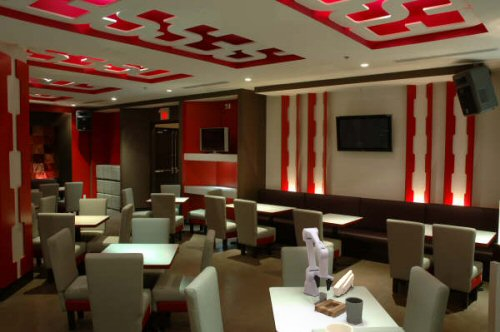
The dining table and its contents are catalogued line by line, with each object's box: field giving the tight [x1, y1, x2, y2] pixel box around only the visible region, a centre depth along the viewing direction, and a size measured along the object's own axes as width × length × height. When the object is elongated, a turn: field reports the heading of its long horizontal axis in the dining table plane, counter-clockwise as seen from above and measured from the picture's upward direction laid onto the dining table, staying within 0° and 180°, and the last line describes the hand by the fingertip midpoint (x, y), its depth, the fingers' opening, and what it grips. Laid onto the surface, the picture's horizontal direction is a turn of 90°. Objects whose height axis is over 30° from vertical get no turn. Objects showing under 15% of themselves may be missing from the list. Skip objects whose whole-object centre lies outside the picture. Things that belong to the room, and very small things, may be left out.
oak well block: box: [314, 298, 346, 318], centre depth 251 cm, size 14×16×3 cm
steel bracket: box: [314, 291, 328, 306], centre depth 260 cm, size 4×8×6 cm, turn 135°
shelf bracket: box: [333, 269, 355, 297], centre depth 281 cm, size 6×25×13 cm, turn 143°
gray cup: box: [344, 296, 364, 325], centre depth 237 cm, size 10×10×12 cm
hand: (323, 288), depth 261 cm, fingers open, 7 cm apart
